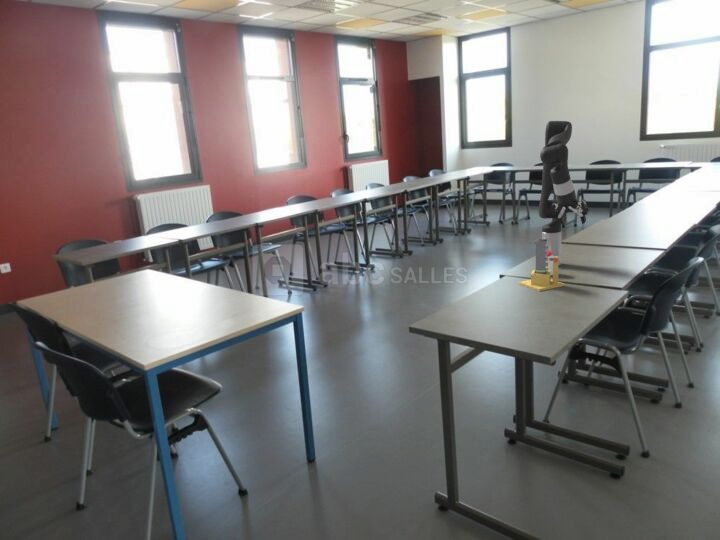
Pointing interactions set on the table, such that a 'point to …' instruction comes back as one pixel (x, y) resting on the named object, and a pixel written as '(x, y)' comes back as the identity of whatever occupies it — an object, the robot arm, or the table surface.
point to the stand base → (544, 278)
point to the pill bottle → (550, 263)
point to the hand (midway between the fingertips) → (573, 223)
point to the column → (541, 256)
